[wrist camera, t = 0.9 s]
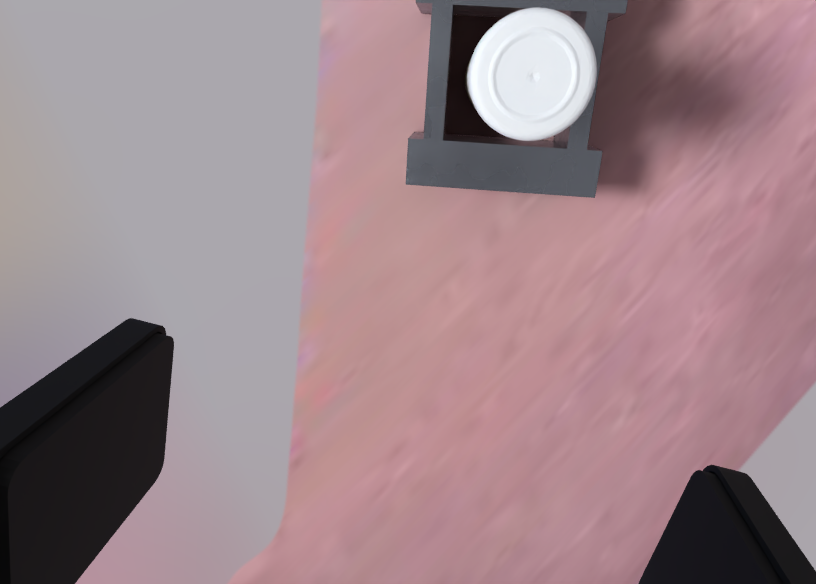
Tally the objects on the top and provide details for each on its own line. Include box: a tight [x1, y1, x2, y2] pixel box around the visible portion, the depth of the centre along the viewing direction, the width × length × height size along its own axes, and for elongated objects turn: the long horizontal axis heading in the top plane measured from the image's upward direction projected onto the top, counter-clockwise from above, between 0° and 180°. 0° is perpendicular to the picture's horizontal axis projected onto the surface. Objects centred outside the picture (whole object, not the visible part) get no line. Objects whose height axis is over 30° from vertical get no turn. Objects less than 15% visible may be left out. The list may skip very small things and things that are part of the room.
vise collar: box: [406, 0, 628, 198], centre depth 31 cm, size 10×11×4 cm
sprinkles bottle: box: [465, 7, 597, 141], centre depth 27 cm, size 5×5×13 cm
